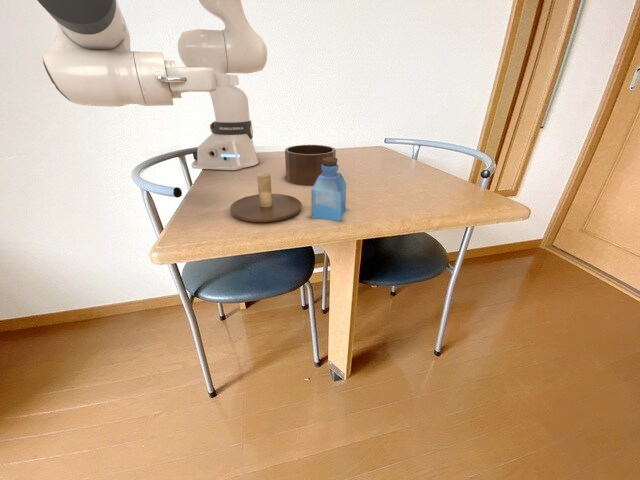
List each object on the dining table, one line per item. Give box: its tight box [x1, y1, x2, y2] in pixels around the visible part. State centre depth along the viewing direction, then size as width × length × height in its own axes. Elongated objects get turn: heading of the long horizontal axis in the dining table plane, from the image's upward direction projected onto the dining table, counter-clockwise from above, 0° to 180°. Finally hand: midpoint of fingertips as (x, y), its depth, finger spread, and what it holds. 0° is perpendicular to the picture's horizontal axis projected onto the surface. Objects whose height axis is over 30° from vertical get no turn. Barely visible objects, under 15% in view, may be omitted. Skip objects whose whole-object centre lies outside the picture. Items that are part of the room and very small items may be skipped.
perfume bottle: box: [311, 157, 347, 222], centre depth 63 cm, size 6×6×12 cm
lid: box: [229, 172, 302, 223], centre depth 65 cm, size 16×16×8 cm
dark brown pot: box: [284, 144, 337, 186], centre depth 88 cm, size 15×15×8 cm
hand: (233, 80), depth 60 cm, fingers open, 8 cm apart
